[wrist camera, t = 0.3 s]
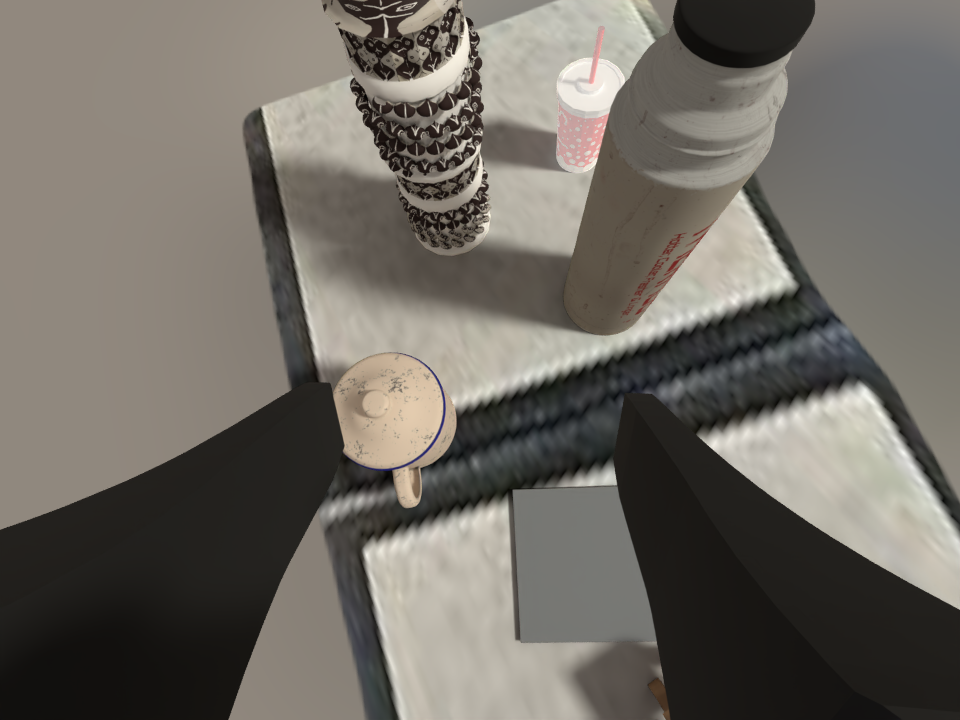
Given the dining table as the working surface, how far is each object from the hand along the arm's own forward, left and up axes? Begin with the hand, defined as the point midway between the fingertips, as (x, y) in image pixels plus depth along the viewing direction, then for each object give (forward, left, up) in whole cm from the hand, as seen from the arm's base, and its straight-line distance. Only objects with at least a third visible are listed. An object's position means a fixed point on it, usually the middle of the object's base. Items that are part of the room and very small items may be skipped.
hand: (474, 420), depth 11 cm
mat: (-9, -7, -30) cm, 32 cm away
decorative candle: (+25, +4, -30) cm, 40 cm away
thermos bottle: (+15, -11, -30) cm, 36 cm away
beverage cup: (+32, -10, -30) cm, 45 cm away
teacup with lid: (+2, +8, -30) cm, 31 cm away
